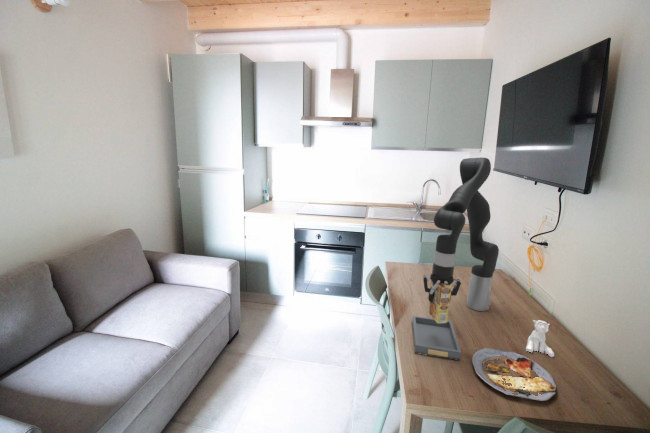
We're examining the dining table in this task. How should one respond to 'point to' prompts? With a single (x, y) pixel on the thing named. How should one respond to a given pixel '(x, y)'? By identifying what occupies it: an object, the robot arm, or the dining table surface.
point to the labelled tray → (435, 338)
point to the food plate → (521, 367)
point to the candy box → (440, 303)
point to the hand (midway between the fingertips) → (438, 302)
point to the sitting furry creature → (539, 339)
